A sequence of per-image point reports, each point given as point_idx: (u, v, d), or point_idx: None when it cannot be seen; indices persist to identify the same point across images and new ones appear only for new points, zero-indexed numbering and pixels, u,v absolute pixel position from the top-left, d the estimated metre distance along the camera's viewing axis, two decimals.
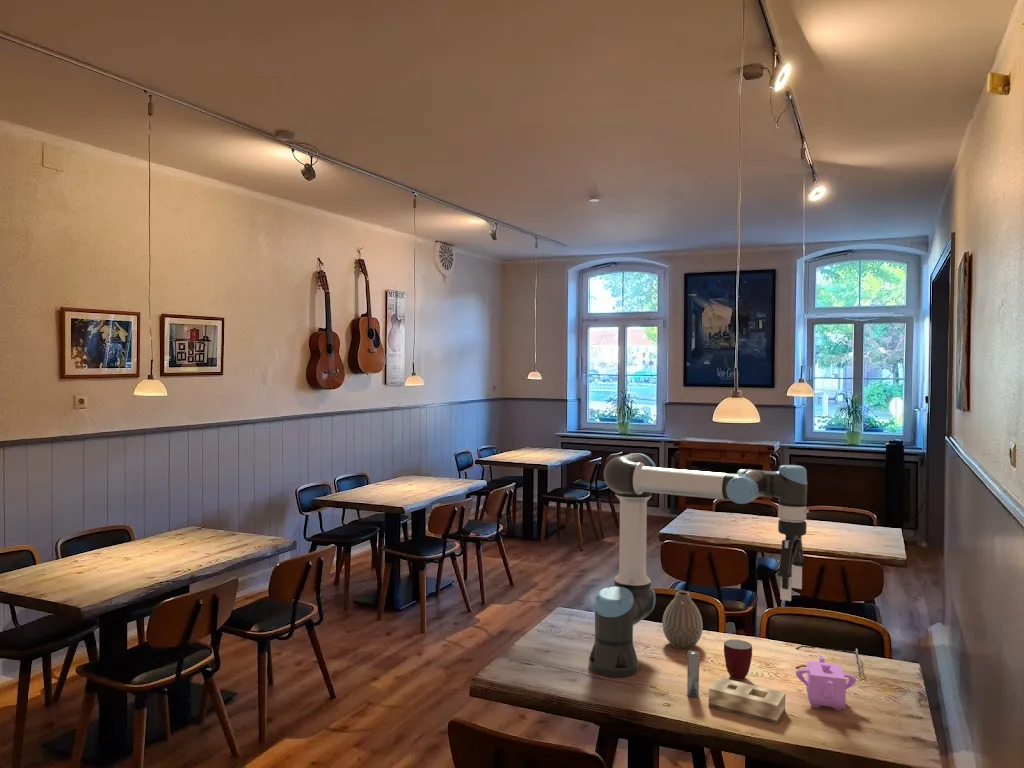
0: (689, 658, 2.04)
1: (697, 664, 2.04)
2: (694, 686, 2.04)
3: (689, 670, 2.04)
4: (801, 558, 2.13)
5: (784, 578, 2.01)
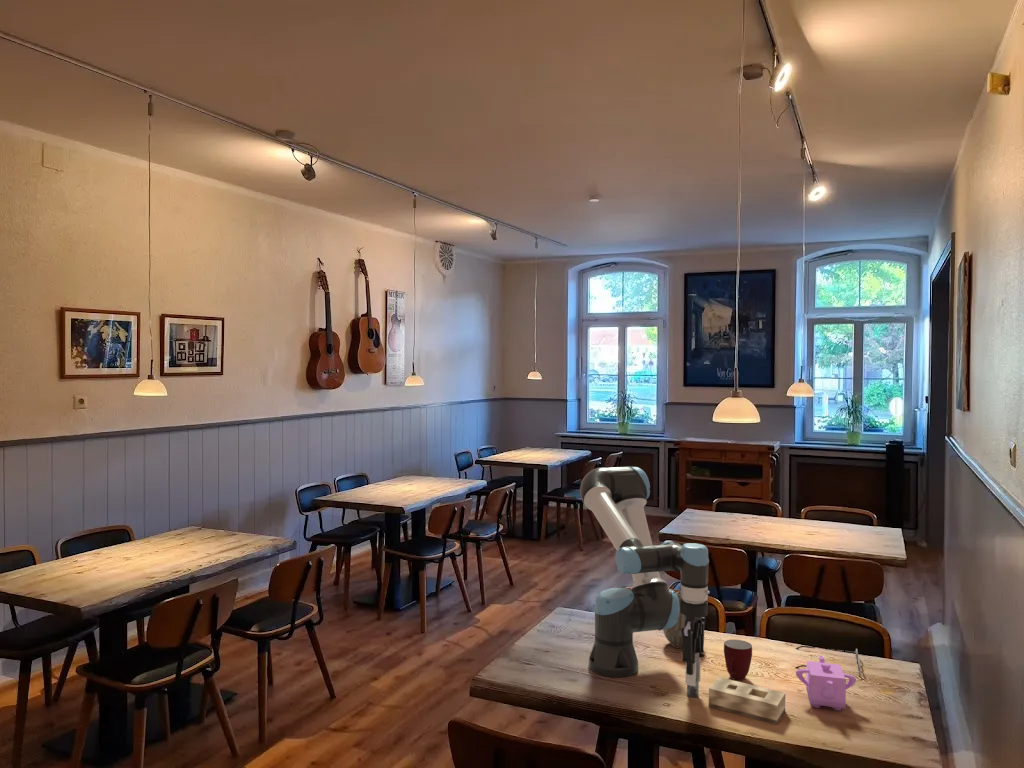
0: None
1: (697, 664, 2.04)
2: None
3: None
4: (701, 648, 2.07)
5: (688, 664, 2.02)
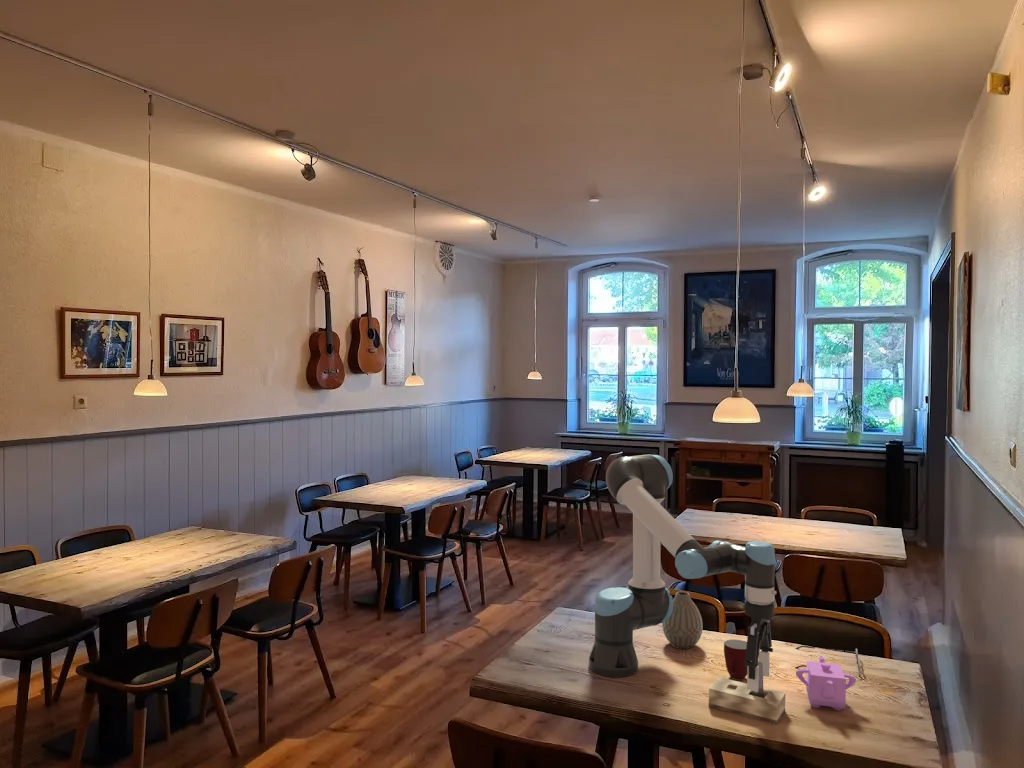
0: None
1: (761, 675, 1.94)
2: None
3: None
4: (769, 643, 2.00)
5: (751, 667, 1.89)
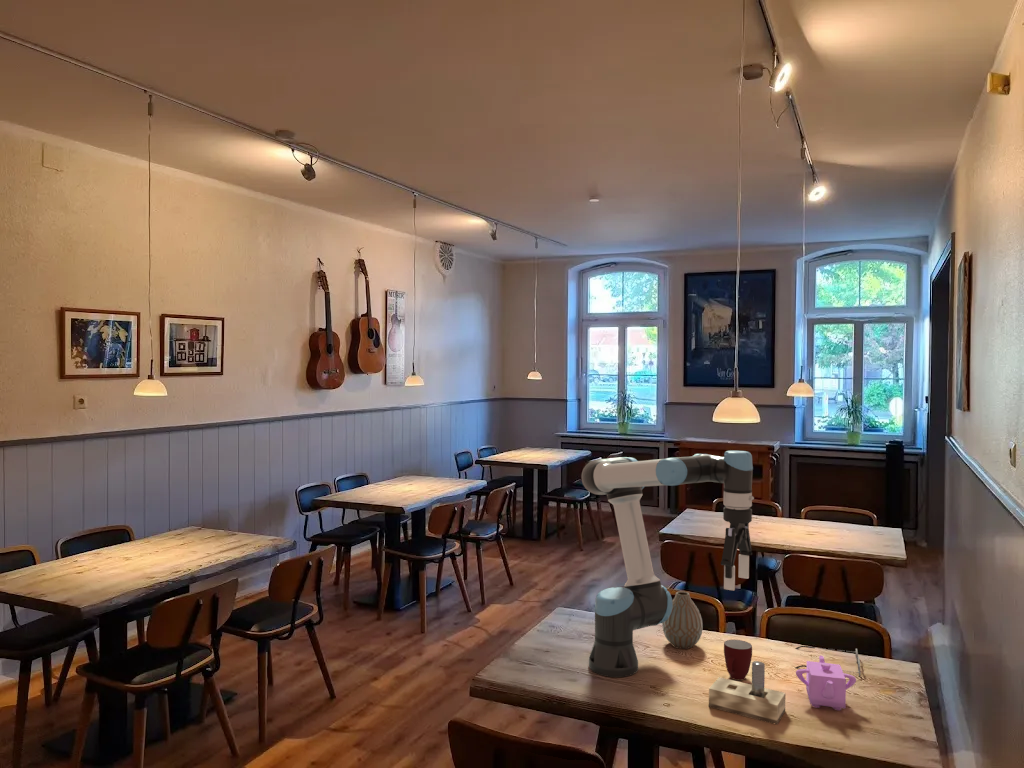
0: (754, 669, 1.95)
1: (763, 675, 1.94)
2: None
3: (754, 682, 1.94)
4: (748, 547, 2.06)
5: (727, 567, 1.94)
